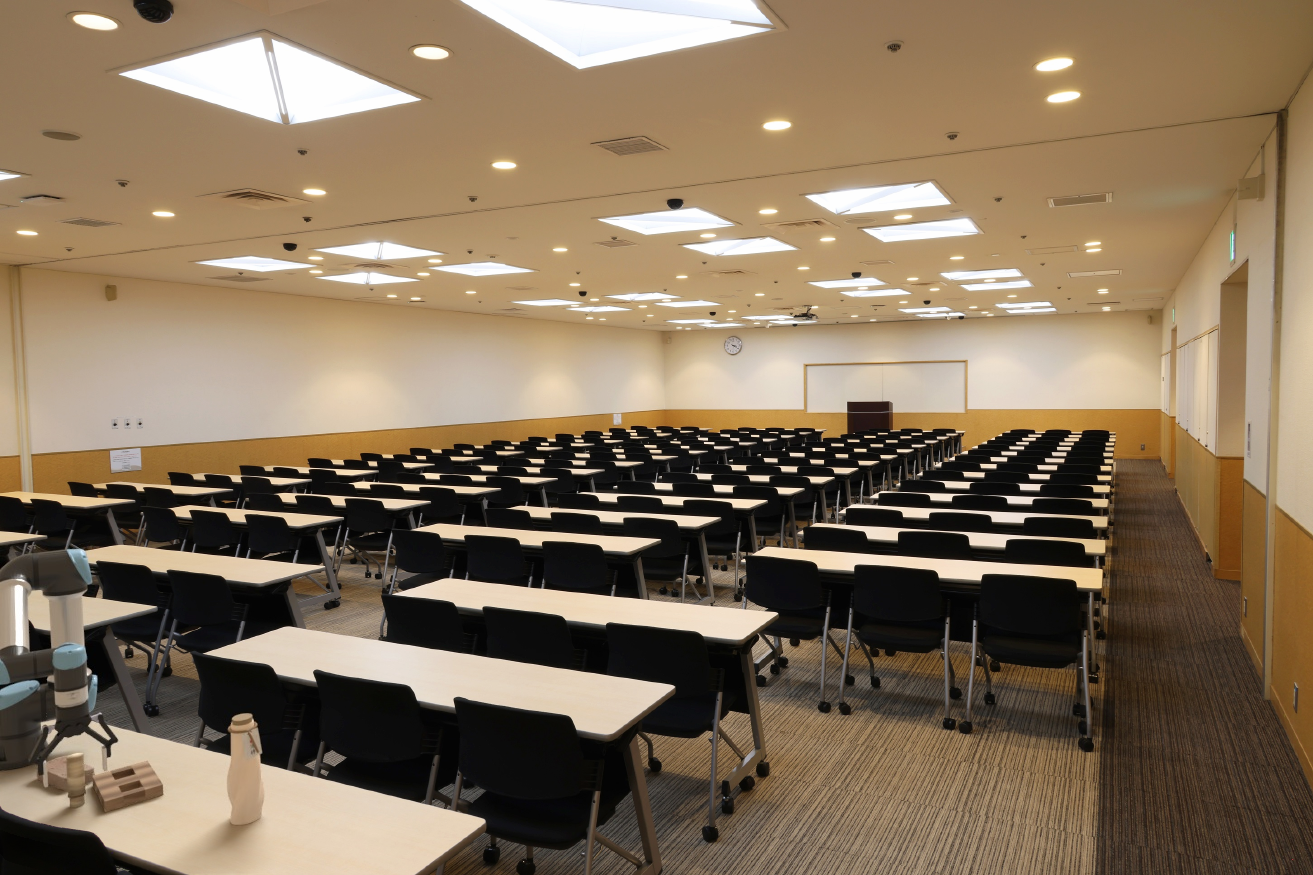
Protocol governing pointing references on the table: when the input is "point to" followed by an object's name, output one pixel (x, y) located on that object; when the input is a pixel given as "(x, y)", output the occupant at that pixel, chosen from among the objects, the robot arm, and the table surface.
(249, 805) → the water bottle
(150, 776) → the board
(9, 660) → the robot arm
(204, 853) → the table surface
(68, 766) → the peg
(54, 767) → the brick
